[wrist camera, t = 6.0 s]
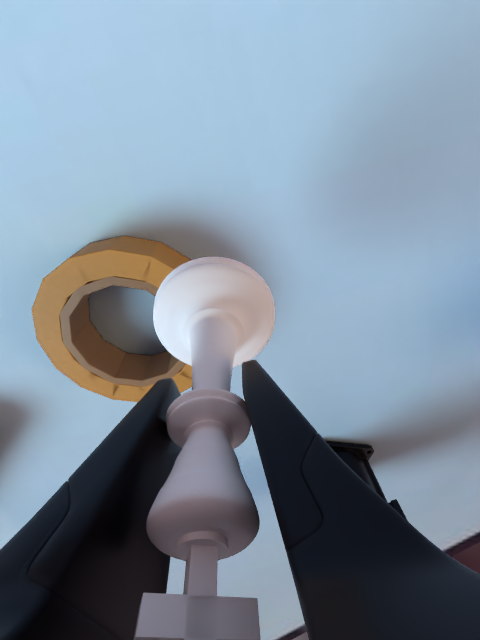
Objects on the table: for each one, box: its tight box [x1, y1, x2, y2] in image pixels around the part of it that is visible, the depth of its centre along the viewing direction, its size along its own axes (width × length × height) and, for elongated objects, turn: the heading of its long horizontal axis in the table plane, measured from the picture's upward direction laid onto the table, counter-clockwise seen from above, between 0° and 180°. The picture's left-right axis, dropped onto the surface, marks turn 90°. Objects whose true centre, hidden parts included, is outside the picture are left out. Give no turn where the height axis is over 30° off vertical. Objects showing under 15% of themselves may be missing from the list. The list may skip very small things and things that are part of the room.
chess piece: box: [134, 257, 275, 640], centre depth 8 cm, size 5×5×10 cm
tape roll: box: [32, 236, 192, 402], centre depth 21 cm, size 12×12×3 cm
